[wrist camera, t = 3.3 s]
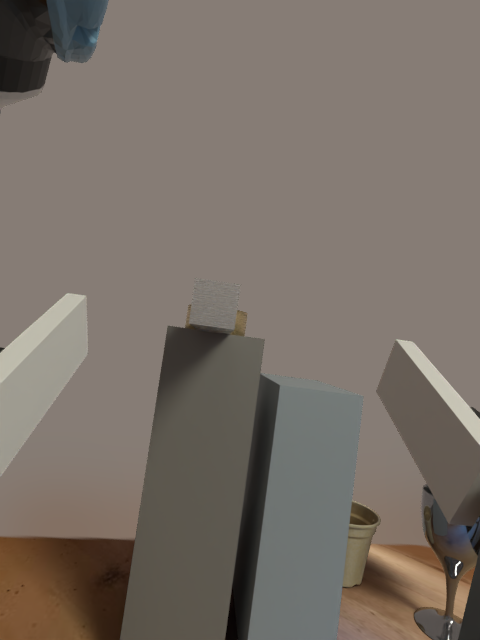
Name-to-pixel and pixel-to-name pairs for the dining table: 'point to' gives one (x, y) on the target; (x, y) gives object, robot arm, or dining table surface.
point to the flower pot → (359, 542)
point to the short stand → (296, 510)
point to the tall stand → (193, 487)
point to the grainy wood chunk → (216, 308)
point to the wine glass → (446, 565)
